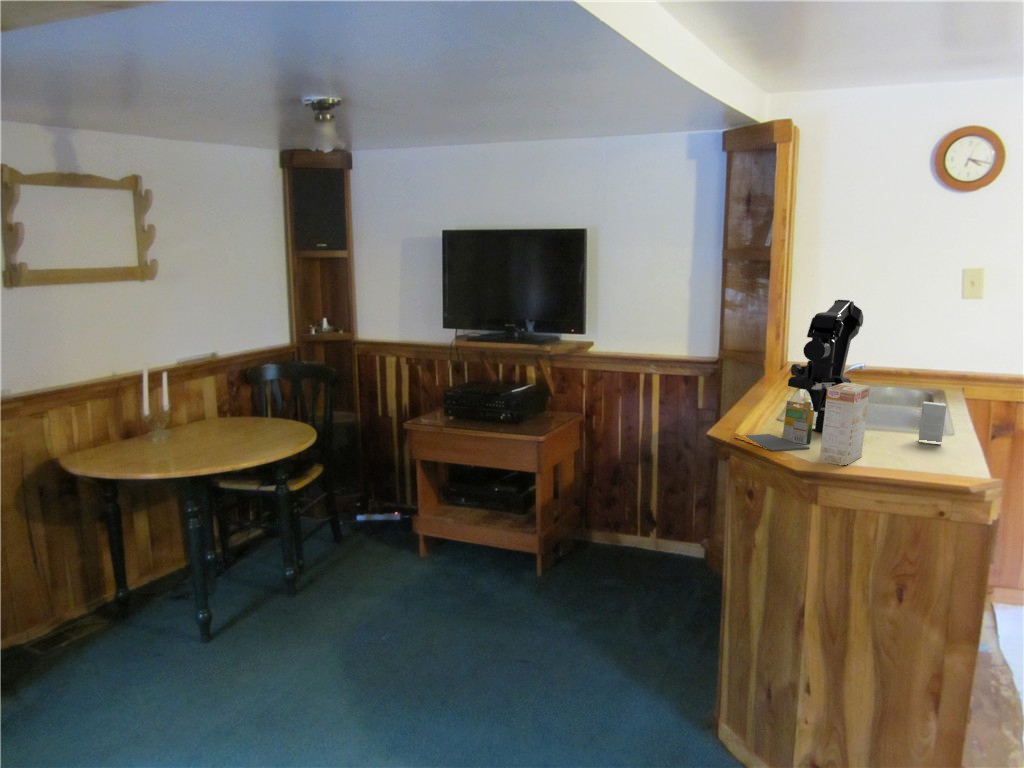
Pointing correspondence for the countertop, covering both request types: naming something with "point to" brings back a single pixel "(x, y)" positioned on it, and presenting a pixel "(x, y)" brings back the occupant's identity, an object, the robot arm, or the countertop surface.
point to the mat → (775, 443)
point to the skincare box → (932, 421)
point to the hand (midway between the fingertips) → (816, 411)
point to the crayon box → (798, 423)
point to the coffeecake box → (844, 423)
